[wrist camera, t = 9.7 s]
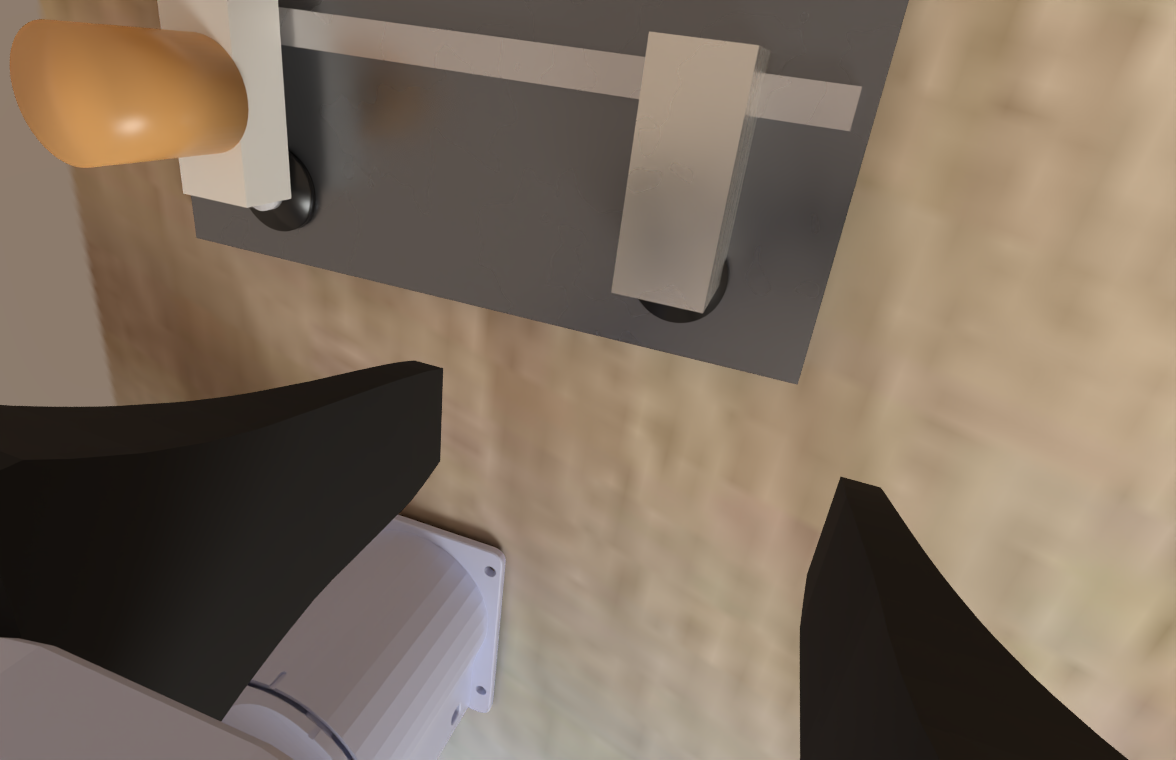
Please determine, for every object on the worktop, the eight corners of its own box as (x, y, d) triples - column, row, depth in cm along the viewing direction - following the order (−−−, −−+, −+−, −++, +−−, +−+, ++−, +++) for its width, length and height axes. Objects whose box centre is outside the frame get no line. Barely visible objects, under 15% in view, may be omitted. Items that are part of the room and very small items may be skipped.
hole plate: (799, 369, 21) (791, 429, 17) (222, 231, 26) (122, 255, 22) (919, -47, 16) (943, -87, 12) (182, -113, 21) (47, -154, 18)
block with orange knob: (309, 217, 22) (141, 259, 17) (230, 200, 23) (46, 235, 18) (296, -10, 19) (88, -47, 14) (206, -22, 20) (-22, -61, 15)
